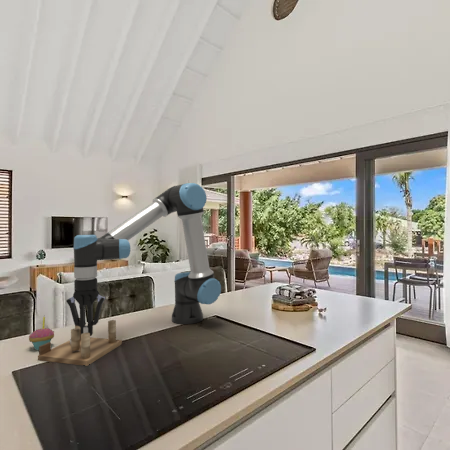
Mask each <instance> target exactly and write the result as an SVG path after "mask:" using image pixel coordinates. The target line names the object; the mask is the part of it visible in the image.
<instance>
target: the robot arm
mask: <svg viewBox="0 0 450 450" xmlns="http://www.w3.org/2000/svg"><path fill="white" fill-rule="evenodd" d="M206 203H207V194H206V191H205V190H204V188H203V186H201V185H199V184H197V183H194V182H189V183H183V184H178V185H173V186H171V187H169V188H168V189H166V190H165V191H163V192H162V193H161V194H159V195H158V196H156V197H155V198H154V199H152V202H151V203H150V204H148V205H147V206H145V207H143V209H141V210H139V211H138V212H136V213H135V214H134V215H132V216H130V217H129V218H128V219H126V220H125V221H123V222H121V223H120V224H118V225H117V226H116V227H114V228H113V229H111V230H110V231H108V232H107V233H105V234H102V236H100V237H98V236H97V235H96V234H77V235H76V236H74V237H73V248H72V249H73V261H74V264H73V272H74V273H73V278H74V284H73V285H74V288H73V290H74V292H73V294H72V296H71V297H69V298H68V299H66V302H65V303H66V304H67V305H68V306H69V309H70V313H71V317H72V319H73V324H74V327H75V326H79V327H80V328H81V334H83V333H90V337H91V336H92V335H93V334H94V326H96V325H97V324H98V323H99V320H100V316H101V312H102V308H103V303H104V302H105V300H106V296H102V295H100V292H99V291H98V278H97V276H98V262H99V261H108V260H109V261H110V260H111V261H112V260H123V259H127V258H129V256H130V254H131V243H130V242H129V240H131V239H133V238H134V237H135V236H137V235H138V234H140V233H141V232H142V231H144V230H145V229H147V228H148V227H150V226H151V225H152V224H153V223H155V222H156V221H157V220H160V218H162V217H165V218H166V217H167V216H169V215H170V214H173V213H175V212H176V215H177V218H178V219H181V222H182V227H183V229H182V230H183V233H184V240H185V246H186V252H187V256H188V264H189V269H190V271H185V272H179V273H176V274H175V275H174V307H173V311H172V313H171V322H172V323H174V324H180V325H190V324H191V325H192V324H197V323H200V322H202V321H203V319H204V314H203V311H202V307H201V304H202V305H211V304H214V303H215V302H216V301H217V300H218V298H219V297H220V296H221V294H222V285H221V283H220V281H219V280H218V279H216V278H215V273H214V272H215V271H214V270H212V269H211V268H210V263H209V256H208V249H207V245H206V239H205V238H206V237H205V232H204V226H203V221H202V215H203V214H204V213H205V212H204V207H205V206H206ZM96 300H97V302H98V303H97V306H96V308H95V313H94V303H95V301H96ZM76 303H78V306H79V313H78V308H77V305H76ZM86 309H87V310H86ZM86 312H87V316H86ZM86 317H87V319H86ZM79 318H80V319H79ZM86 321H87V322H86ZM86 324H87V325H86Z"/></svg>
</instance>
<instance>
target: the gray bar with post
mask: <svg viewBox="0 0 450 450" xmlns="http://www.w3.org/2000/svg"><path fill="white" fill-rule="evenodd" d="M69 340H70V344H71V350H72V352H76V351H79V349H80V329H79V328H75V327H74V328H72V329H70V338H69Z"/></svg>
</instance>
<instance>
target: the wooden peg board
mask: <svg viewBox="0 0 450 450" xmlns="http://www.w3.org/2000/svg"><path fill="white" fill-rule="evenodd" d="M79 319H80V317H79ZM75 328H79V329H80V349H79V351H76V352H72V350H71V344H70V339H69V340H67V341H65V342H63V343H61V344H59V345H56V346H55V347H53V348H52V344H51V342H52V341H51V342H48V343H46V344H44V345H42V346H39V350H38V355H37V361H41V362H50V363H59V364H68V365H77V366H83V365H85V367H88V366H90V365H92V364H93V363H94V362H95V361H97V360H99V359H101V358H102V357H104V356H105V355H107V354H108V353H110V352H112V351H113V350H115V349H117V348H119V347H120V346H121V345H122V344H123V341H122V339H117V329H116V328H117V321H116V319H112V320H108V321H107V332H108V333H107V335H108V336H107V337H108V338H103V337H102V338H101V337H94V336H93V337H91V336H90V333H83V334H81V328H80V327H79V326H75V325H74V329H75ZM89 364H90V365H89Z"/></svg>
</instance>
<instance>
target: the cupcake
mask: <svg viewBox="0 0 450 450" xmlns="http://www.w3.org/2000/svg"><path fill="white" fill-rule="evenodd" d="M45 322H46V317H45V314H43V318H42V328H37V329H35V330H33V332H31V333H29V336H28V342H30V343H32V345H33V347H34V350H36V351H39V346H42V345H44V344H46V343H48V342H52V339H54V337H55V331H54V330H52V329H51V328H48V327H47V328H46V327H45V326H46V325H45Z"/></svg>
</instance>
